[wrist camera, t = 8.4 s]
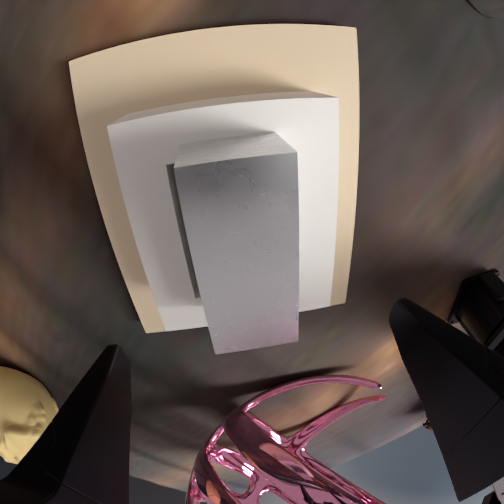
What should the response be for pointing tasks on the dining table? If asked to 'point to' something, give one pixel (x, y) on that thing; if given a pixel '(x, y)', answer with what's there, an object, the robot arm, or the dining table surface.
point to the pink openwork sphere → (276, 455)
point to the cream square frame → (214, 127)
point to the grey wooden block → (243, 236)
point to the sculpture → (22, 413)
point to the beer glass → (489, 7)
